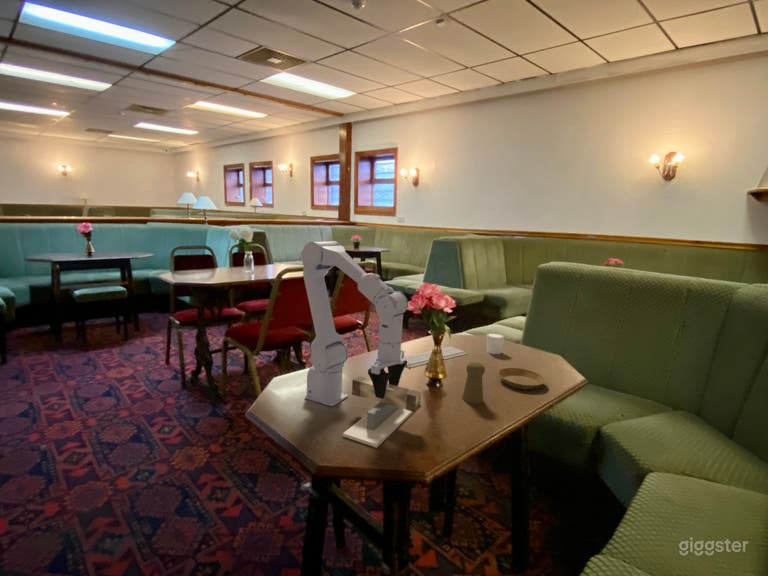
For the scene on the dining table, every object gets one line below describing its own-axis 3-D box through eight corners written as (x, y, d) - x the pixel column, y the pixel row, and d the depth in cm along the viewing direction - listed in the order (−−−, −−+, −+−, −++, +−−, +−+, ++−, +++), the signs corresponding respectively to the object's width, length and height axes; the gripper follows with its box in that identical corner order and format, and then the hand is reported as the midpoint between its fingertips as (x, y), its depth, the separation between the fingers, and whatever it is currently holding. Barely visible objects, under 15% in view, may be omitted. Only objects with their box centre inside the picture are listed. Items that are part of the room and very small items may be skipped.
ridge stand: (342, 436, 98) (343, 416, 97) (391, 396, 121) (392, 380, 120) (376, 447, 94) (377, 427, 93) (420, 404, 117) (421, 387, 116)
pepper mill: (486, 398, 123) (489, 363, 121) (478, 405, 118) (482, 369, 117) (467, 393, 127) (470, 358, 125) (458, 399, 122) (462, 363, 120)
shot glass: (486, 354, 165) (488, 337, 163) (483, 348, 171) (485, 332, 170) (504, 355, 164) (506, 338, 163) (500, 350, 171) (502, 333, 170)
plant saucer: (551, 384, 138) (552, 376, 138) (534, 397, 127) (535, 388, 127) (508, 371, 148) (509, 364, 147) (489, 382, 137) (490, 375, 136)
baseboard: (469, 356, 162) (450, 349, 170) (470, 349, 162) (451, 343, 170) (411, 371, 144) (393, 362, 151) (412, 363, 143) (393, 355, 151)
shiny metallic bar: (419, 407, 104) (421, 392, 104) (414, 412, 102) (416, 396, 101) (357, 390, 112) (358, 376, 112) (351, 394, 110) (352, 379, 109)
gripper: (391, 351, 96) (387, 406, 98) (416, 336, 109) (412, 386, 111) (364, 345, 99) (362, 399, 101) (391, 332, 112) (388, 380, 114)
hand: (386, 392), depth 106 cm, fingers open, 7 cm apart
